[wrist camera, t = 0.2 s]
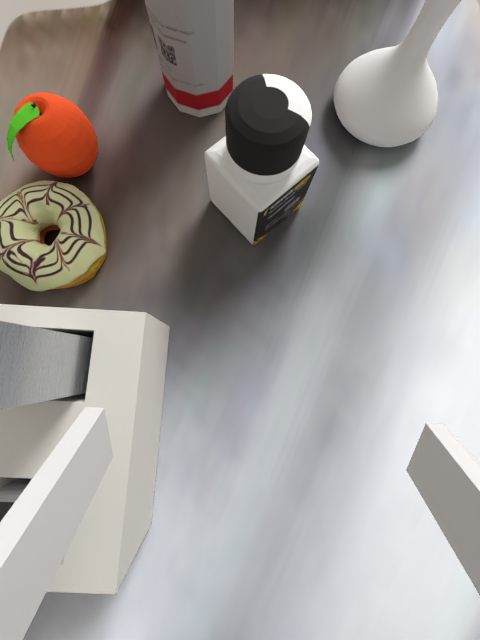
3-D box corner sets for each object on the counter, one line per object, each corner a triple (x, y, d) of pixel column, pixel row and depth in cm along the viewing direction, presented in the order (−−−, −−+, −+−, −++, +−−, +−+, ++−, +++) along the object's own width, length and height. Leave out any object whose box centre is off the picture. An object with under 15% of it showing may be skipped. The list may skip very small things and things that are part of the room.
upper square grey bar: (120, 386, 27) (-80, 425, 10) (78, 383, 27) (-200, 419, 10) (125, 344, 28) (-55, 310, 10) (84, 341, 27) (-168, 304, 10)
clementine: (67, 211, 30) (17, 164, 23) (24, 169, 31) (-38, 112, 24) (123, 162, 31) (91, 103, 24) (80, 123, 32) (36, 54, 25)
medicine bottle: (253, 247, 30) (266, 171, 18) (209, 200, 31) (194, 97, 19) (301, 206, 31) (345, 108, 19) (257, 161, 32) (273, 39, 20)
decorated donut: (45, 314, 29) (16, 307, 25) (-8, 232, 30) (-43, 214, 26) (132, 257, 30) (117, 242, 26) (78, 180, 31) (56, 155, 27)
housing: (169, 326, 28) (144, 311, 20) (151, 523, 26) (113, 599, 17) (49, 319, 28) (-28, 301, 20) (17, 517, 25) (-87, 591, 17)
